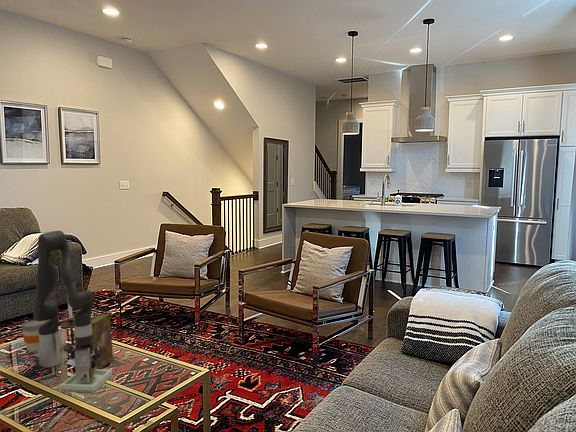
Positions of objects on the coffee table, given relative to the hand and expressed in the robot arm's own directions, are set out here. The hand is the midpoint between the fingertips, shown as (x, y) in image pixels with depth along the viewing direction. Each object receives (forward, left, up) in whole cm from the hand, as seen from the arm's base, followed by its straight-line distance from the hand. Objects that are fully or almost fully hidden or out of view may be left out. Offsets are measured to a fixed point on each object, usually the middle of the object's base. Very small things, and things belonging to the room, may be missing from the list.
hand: (86, 367), depth 202 cm
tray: (0, 0, -8) cm, 8 cm away
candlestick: (-32, +38, -8) cm, 50 cm away
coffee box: (0, 0, -5) cm, 5 cm away
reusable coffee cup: (-53, +36, -8) cm, 65 cm away
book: (-4, +18, -8) cm, 20 cm away
